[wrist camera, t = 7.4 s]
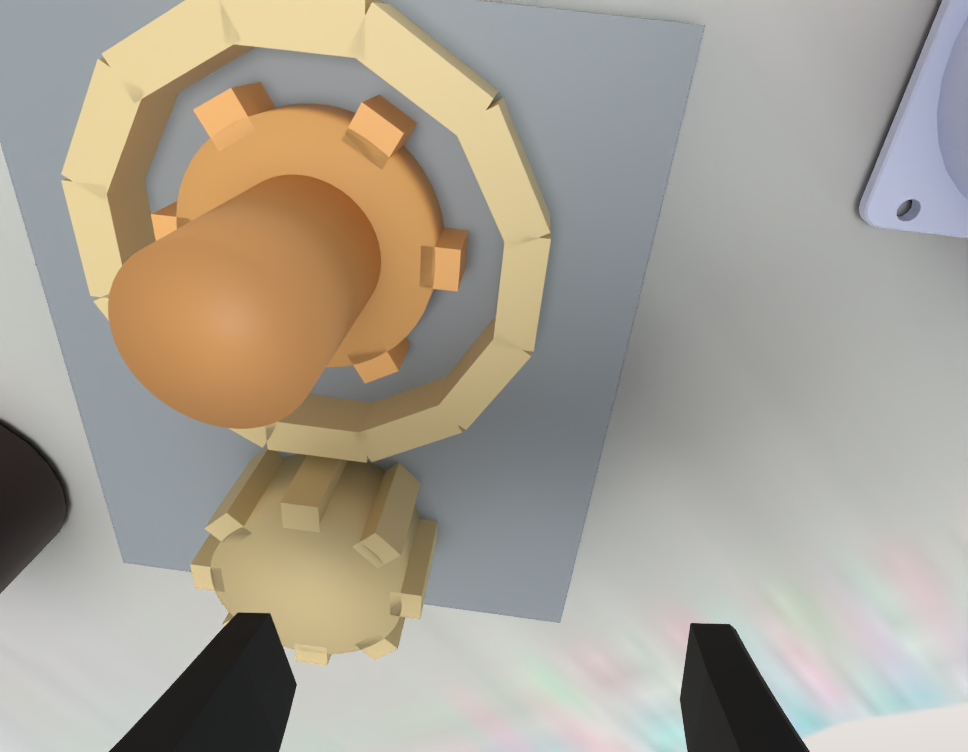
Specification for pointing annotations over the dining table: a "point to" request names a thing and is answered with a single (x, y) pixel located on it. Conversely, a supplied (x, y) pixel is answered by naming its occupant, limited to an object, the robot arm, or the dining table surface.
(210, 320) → the planet gear
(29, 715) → the dining table surface
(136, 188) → the carrier plate
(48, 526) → the bottle
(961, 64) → the robot arm
